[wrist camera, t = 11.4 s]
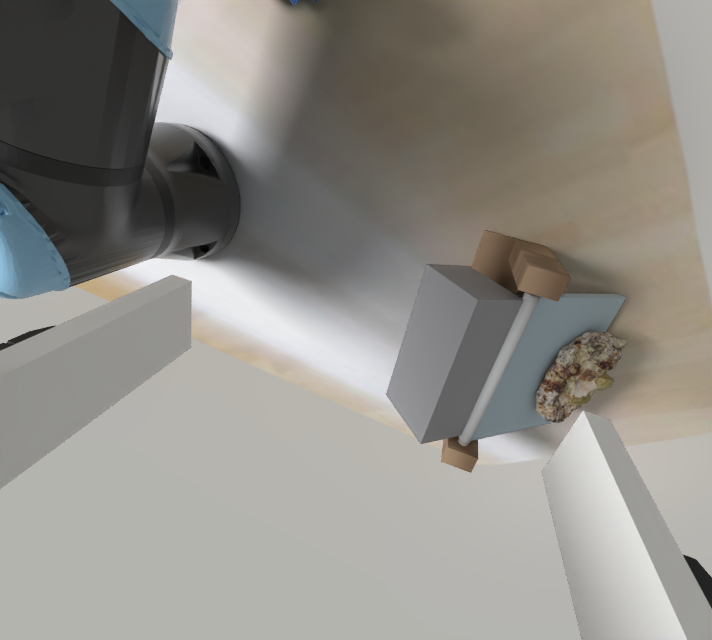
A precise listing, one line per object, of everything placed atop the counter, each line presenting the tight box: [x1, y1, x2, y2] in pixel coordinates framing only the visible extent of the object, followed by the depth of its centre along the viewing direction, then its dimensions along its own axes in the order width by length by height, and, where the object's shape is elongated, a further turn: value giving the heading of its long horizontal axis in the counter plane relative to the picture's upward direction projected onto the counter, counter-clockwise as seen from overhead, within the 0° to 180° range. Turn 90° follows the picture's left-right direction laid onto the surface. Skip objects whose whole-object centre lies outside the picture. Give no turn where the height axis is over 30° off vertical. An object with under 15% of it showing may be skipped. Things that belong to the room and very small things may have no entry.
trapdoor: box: [386, 264, 626, 444], centre depth 37 cm, size 18×16×8 cm
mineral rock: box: [535, 331, 627, 423], centre depth 36 cm, size 11×4×8 cm
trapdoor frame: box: [441, 230, 571, 472], centre depth 36 cm, size 6×21×10 cm, turn 168°
